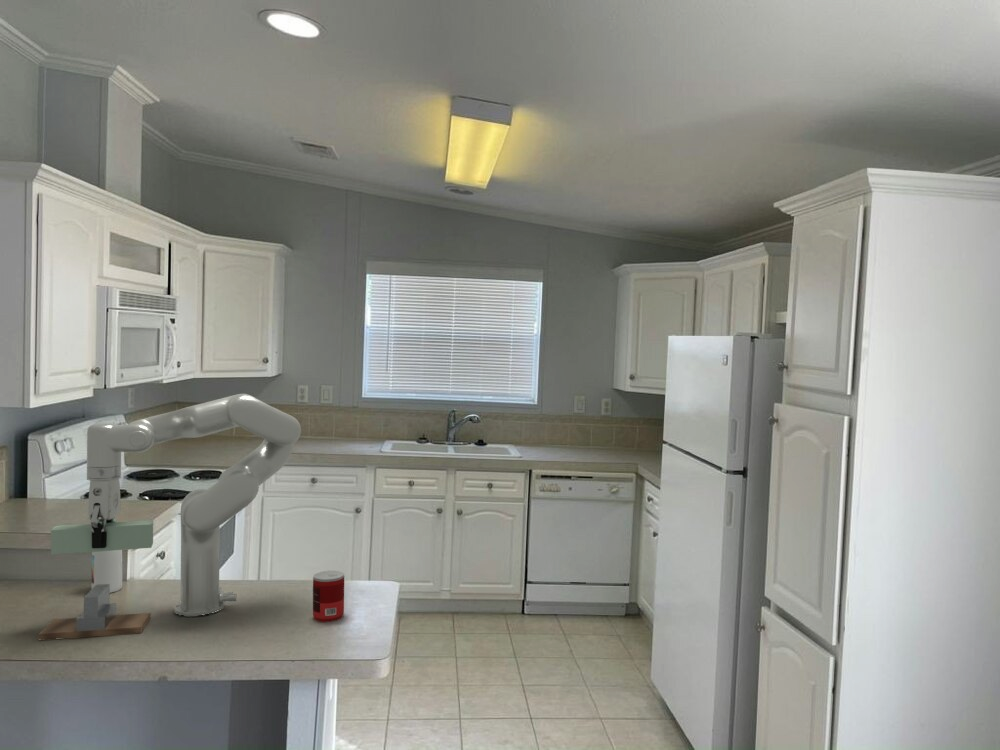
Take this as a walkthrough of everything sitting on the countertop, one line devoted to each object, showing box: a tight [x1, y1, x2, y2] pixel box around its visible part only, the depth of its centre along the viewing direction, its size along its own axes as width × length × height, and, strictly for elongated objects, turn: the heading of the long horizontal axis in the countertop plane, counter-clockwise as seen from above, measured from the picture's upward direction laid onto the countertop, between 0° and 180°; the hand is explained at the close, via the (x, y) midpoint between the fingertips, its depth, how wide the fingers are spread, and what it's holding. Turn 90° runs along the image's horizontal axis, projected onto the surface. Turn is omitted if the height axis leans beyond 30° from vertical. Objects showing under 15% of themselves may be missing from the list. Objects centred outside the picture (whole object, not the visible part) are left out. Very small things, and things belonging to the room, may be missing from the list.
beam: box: [50, 519, 154, 556], centre depth 180 cm, size 22×5×6 cm, turn 111°
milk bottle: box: [90, 519, 123, 594], centre depth 205 cm, size 8×8×20 cm
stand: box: [38, 584, 152, 640], centre depth 175 cm, size 22×10×10 cm, turn 104°
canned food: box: [312, 570, 345, 623], centre depth 186 cm, size 8×8×11 cm
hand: (103, 544), depth 180 cm, fingers closed on beam, 5 cm apart
